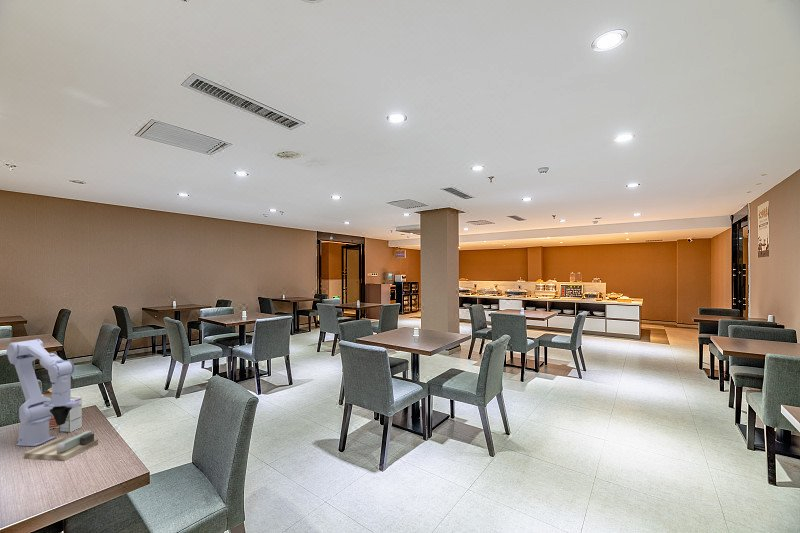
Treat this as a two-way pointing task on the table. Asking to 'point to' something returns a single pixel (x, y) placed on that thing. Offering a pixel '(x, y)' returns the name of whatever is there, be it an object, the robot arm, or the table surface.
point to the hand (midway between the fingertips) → (61, 424)
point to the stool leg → (71, 442)
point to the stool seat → (50, 452)
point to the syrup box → (73, 417)
